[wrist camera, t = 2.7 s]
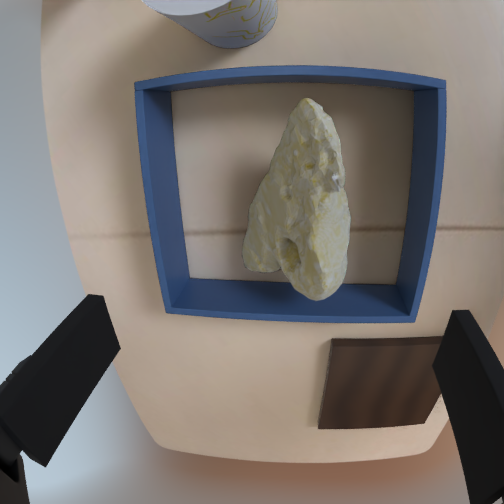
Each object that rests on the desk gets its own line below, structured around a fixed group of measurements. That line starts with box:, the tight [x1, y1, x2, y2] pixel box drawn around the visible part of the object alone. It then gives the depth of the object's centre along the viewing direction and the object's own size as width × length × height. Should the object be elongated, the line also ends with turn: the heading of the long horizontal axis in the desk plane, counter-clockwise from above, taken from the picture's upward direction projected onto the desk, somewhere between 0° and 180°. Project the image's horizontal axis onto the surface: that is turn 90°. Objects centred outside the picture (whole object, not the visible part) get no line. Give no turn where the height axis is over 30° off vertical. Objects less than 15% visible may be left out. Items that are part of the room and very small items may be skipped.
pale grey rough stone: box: [242, 98, 351, 301], centre depth 28 cm, size 15×7×15 cm
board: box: [318, 336, 443, 429], centre depth 39 cm, size 18×18×2 cm
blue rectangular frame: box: [134, 65, 446, 323], centre depth 28 cm, size 25×22×6 cm
